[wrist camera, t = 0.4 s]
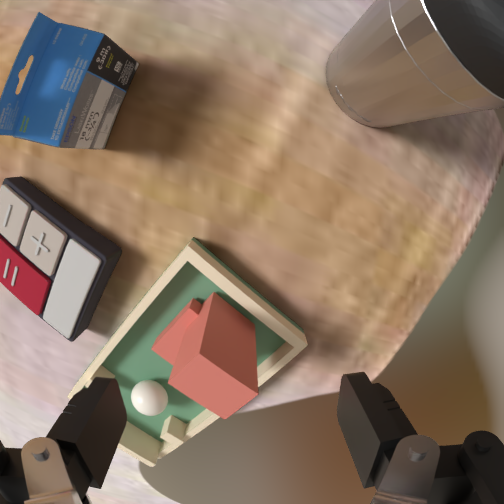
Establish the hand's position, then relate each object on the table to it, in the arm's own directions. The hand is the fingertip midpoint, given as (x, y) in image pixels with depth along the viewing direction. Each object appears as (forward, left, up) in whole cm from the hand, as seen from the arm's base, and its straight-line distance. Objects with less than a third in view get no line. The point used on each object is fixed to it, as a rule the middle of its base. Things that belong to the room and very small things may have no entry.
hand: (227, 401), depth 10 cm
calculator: (+14, -15, -20) cm, 29 cm away
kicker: (+8, +3, -18) cm, 20 cm away
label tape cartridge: (-2, -19, -20) cm, 27 cm away
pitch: (+14, +3, -19) cm, 24 cm away
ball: (+18, +3, -16) cm, 24 cm away
